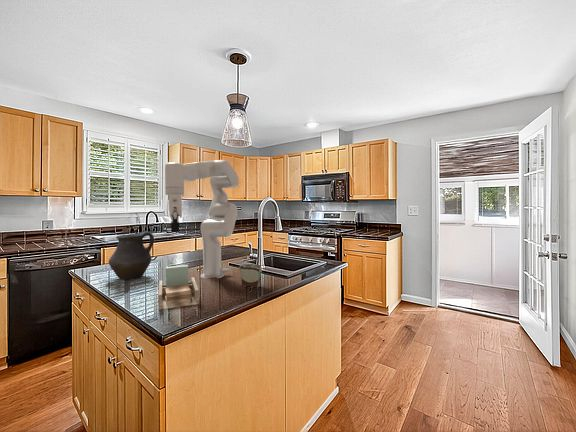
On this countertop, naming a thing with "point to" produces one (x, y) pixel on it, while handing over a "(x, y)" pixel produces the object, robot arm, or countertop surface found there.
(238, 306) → the countertop surface
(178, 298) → the offcut
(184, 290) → the offcut
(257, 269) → the food container
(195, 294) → the rack
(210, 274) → the robot arm
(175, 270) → the pale green slab
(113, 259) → the pitcher
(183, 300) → the offcut
